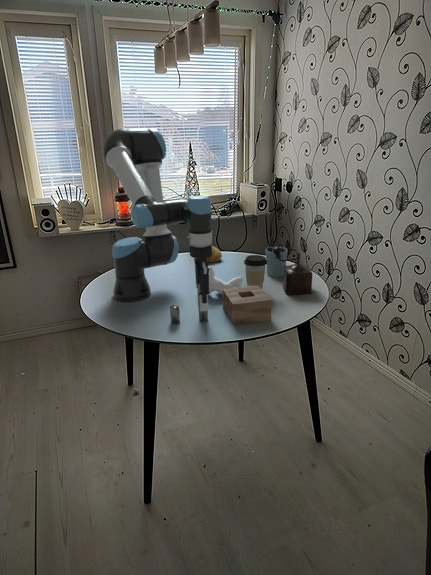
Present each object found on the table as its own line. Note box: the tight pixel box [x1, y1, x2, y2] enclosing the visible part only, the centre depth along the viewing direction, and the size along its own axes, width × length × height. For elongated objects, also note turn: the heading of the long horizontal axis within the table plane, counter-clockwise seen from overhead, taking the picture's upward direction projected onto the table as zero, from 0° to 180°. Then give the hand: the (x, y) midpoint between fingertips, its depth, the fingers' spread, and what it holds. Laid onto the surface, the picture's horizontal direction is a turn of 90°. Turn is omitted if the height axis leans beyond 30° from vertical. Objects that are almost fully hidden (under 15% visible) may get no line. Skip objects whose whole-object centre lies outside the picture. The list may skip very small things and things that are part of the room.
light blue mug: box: [264, 246, 288, 278], centre depth 176 cm, size 10×10×12 cm
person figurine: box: [195, 266, 243, 295], centre depth 153 cm, size 13×13×18 cm
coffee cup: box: [243, 254, 267, 290], centre depth 156 cm, size 9×9×15 cm
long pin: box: [197, 282, 209, 323], centre depth 133 cm, size 3×3×14 cm
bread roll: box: [206, 245, 223, 263], centre depth 199 cm, size 13×10×8 cm
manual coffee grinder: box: [272, 246, 313, 296], centre depth 157 cm, size 16×11×18 cm
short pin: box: [169, 304, 181, 325], centre depth 134 cm, size 3×3×6 cm
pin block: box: [222, 285, 273, 326], centre depth 138 cm, size 14×14×8 cm
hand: (203, 308), depth 134 cm, fingers closed on long pin, 3 cm apart
